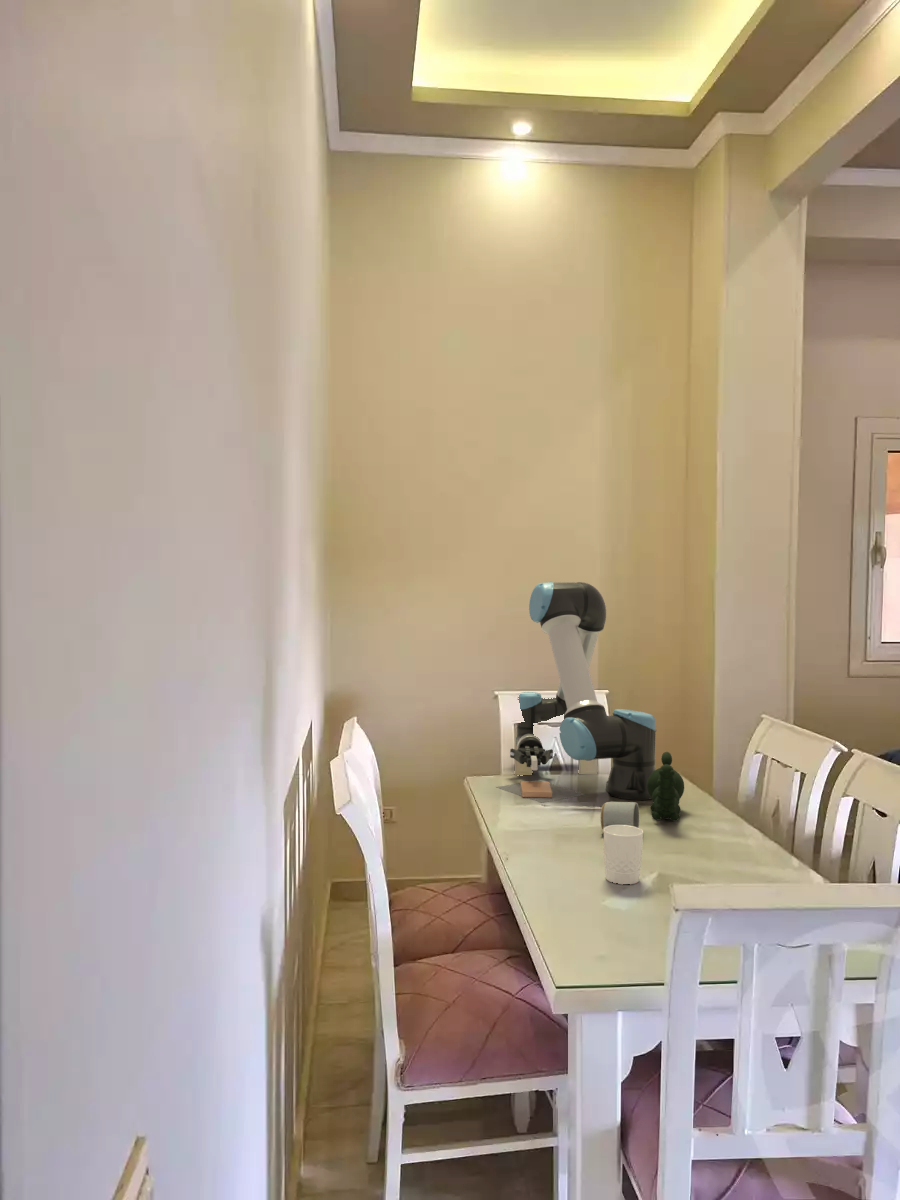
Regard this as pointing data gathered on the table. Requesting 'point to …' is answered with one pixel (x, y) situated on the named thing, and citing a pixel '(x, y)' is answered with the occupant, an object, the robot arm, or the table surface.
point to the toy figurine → (665, 790)
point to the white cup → (622, 853)
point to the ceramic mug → (620, 814)
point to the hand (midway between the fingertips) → (534, 765)
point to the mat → (556, 795)
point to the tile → (535, 789)
